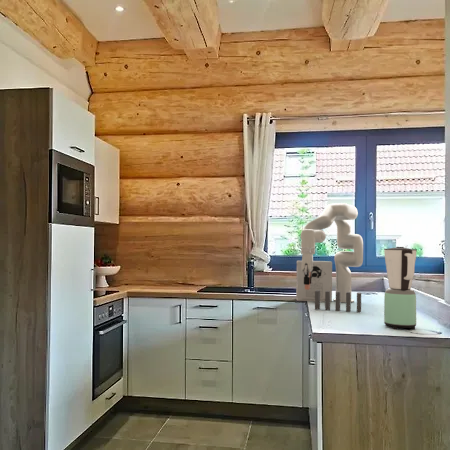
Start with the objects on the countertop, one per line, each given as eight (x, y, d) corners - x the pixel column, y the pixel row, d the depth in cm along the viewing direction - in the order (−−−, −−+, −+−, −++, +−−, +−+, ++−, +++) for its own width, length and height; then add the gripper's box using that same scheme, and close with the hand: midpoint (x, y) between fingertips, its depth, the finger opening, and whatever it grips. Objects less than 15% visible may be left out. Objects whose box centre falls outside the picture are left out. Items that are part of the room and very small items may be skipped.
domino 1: (306, 288, 256) (306, 270, 256) (309, 288, 255) (310, 270, 255) (304, 289, 251) (305, 271, 251) (308, 289, 250) (308, 271, 251)
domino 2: (316, 308, 253) (316, 290, 254) (319, 308, 253) (320, 290, 253) (314, 309, 249) (315, 291, 249) (318, 309, 248) (318, 291, 248)
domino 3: (326, 309, 252) (326, 290, 252) (330, 309, 251) (330, 291, 251) (325, 310, 247) (325, 291, 247) (328, 310, 246) (329, 291, 247)
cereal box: (330, 300, 292) (330, 261, 293) (331, 301, 284) (332, 261, 285) (296, 299, 294) (296, 260, 295) (296, 300, 286) (297, 261, 287)
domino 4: (336, 309, 250) (336, 291, 250) (340, 309, 249) (340, 291, 249) (335, 310, 245) (335, 292, 245) (339, 311, 244) (339, 292, 245)
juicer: (376, 324, 205) (377, 246, 207) (405, 324, 207) (405, 247, 208) (396, 332, 187) (397, 246, 188) (427, 332, 188) (427, 247, 189)
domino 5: (346, 310, 248) (346, 291, 248) (350, 310, 247) (350, 292, 248) (346, 311, 243) (346, 292, 243) (349, 311, 242) (350, 292, 243)
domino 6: (357, 311, 246) (357, 292, 246) (361, 311, 245) (361, 292, 246) (356, 312, 241) (356, 293, 242) (360, 312, 241) (360, 293, 241)
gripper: (304, 251, 263) (303, 282, 262) (298, 251, 247) (297, 284, 246) (317, 251, 261) (316, 283, 260) (312, 251, 245) (311, 285, 244)
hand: (307, 283), depth 253 cm, fingers closed on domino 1, 4 cm apart
